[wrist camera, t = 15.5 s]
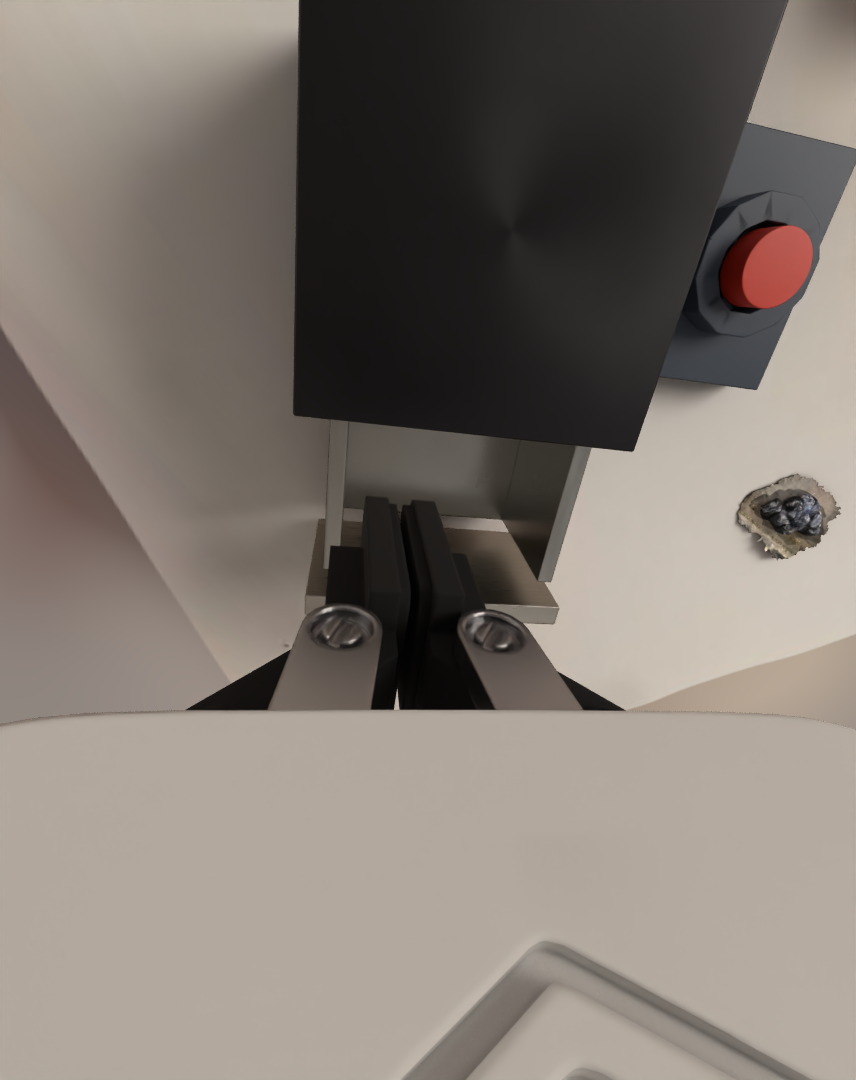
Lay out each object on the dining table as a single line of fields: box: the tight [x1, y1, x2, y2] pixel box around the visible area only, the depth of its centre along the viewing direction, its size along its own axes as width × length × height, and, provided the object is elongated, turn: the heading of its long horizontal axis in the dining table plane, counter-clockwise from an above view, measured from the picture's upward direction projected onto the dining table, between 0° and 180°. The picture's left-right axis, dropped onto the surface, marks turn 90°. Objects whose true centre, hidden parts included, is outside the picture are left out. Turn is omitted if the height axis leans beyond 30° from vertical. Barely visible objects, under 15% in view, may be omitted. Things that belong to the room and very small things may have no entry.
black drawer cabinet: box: [293, 0, 788, 452], centre depth 22 cm, size 15×15×11 cm
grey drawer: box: [305, 420, 592, 624], centre depth 28 cm, size 20×14×9 cm
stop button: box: [720, 225, 813, 309], centre depth 25 cm, size 4×4×2 cm
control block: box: [659, 122, 856, 390], centre depth 27 cm, size 12×9×4 cm
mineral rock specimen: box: [738, 474, 841, 560], centre depth 37 cm, size 7×8×2 cm
